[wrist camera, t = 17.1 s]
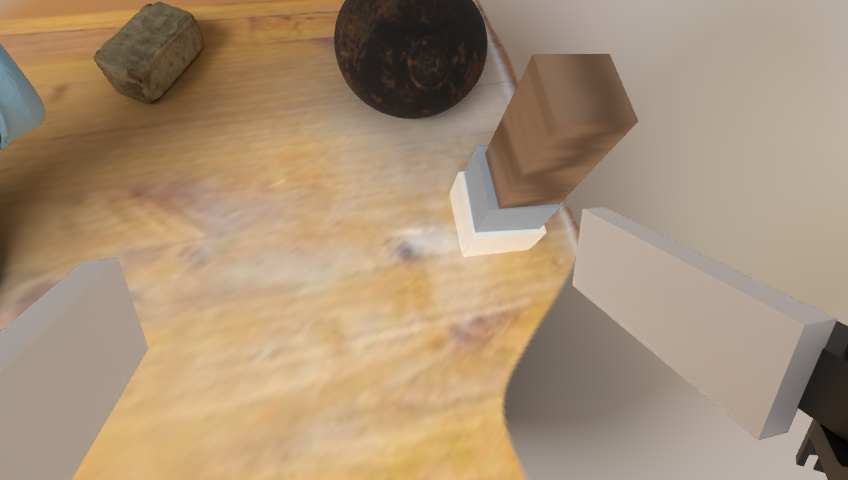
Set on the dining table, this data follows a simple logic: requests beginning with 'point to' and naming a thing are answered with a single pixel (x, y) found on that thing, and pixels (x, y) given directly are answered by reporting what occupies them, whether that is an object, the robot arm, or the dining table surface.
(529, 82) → the walnut block
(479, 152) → the tower top block
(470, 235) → the tower base block
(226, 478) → the dining table surface
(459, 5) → the dark brown bulbous vessel
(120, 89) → the stone block
